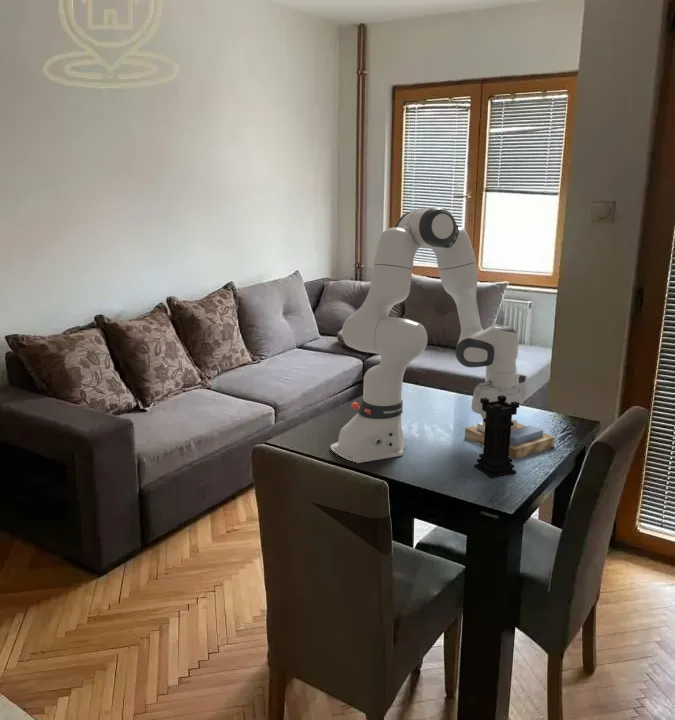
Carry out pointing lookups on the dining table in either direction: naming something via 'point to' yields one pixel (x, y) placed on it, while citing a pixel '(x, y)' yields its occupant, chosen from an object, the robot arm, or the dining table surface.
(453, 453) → the dining table surface
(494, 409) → the chess piece
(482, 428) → the ivory key
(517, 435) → the blue-grey rectangular block
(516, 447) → the key console
